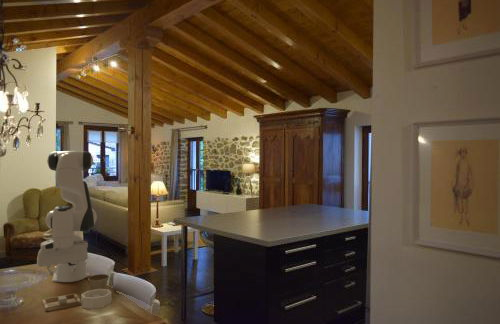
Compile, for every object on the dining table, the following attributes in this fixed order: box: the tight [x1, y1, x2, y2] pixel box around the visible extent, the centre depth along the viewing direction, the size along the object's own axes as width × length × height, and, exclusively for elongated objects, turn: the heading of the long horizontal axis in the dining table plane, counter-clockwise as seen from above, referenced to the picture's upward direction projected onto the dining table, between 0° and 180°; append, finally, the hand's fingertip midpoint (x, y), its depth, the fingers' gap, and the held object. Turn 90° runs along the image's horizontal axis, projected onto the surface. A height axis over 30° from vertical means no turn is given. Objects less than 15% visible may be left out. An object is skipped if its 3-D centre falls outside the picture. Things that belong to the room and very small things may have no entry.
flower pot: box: [87, 273, 110, 290], centre depth 180 cm, size 9×9×9 cm
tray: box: [41, 292, 82, 312], centre depth 167 cm, size 12×14×2 cm
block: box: [58, 295, 67, 304], centre depth 165 cm, size 4×3×4 cm
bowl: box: [80, 288, 113, 310], centre depth 167 cm, size 12×12×5 cm
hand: (62, 273), depth 165 cm, fingers open, 8 cm apart
